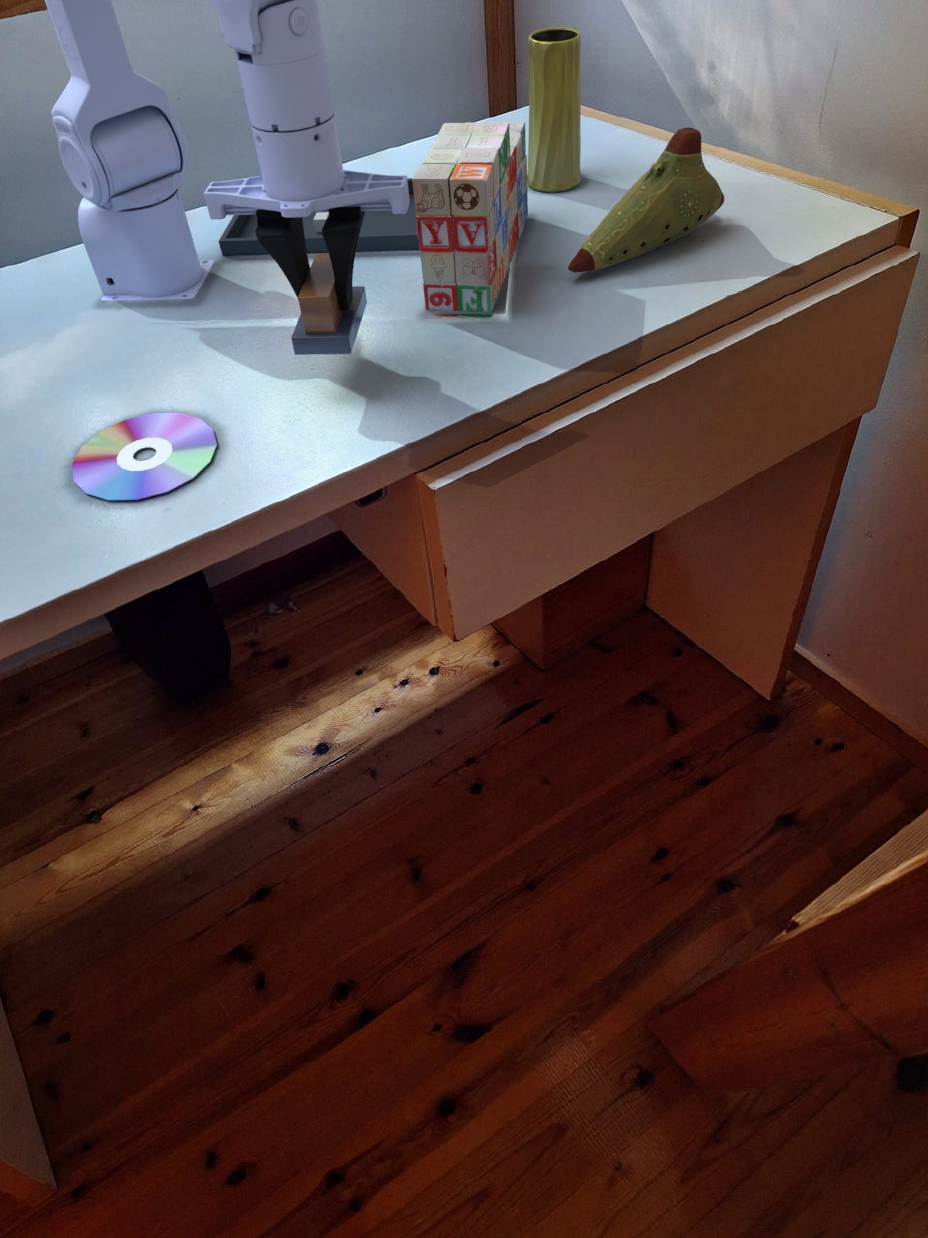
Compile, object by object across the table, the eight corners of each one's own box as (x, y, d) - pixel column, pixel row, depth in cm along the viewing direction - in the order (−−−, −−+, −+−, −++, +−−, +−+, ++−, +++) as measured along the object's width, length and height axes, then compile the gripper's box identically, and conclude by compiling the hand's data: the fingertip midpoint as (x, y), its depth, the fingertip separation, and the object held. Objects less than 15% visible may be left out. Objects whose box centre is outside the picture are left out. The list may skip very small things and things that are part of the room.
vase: (518, 176, 102) (515, 31, 92) (569, 166, 103) (571, 21, 93) (537, 196, 98) (536, 47, 88) (590, 186, 99) (595, 37, 89)
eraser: (351, 354, 70) (341, 299, 66) (294, 355, 70) (282, 300, 67) (367, 302, 75) (359, 249, 72) (314, 303, 75) (304, 251, 72)
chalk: (315, 232, 94) (313, 219, 93) (324, 212, 98) (322, 199, 97) (328, 232, 94) (326, 218, 93) (337, 211, 98) (334, 198, 97)
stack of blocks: (470, 215, 96) (463, 86, 87) (529, 216, 95) (527, 86, 86) (425, 316, 82) (410, 175, 73) (492, 318, 81) (486, 176, 72)
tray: (223, 261, 93) (218, 240, 91) (256, 202, 102) (251, 183, 101) (427, 255, 90) (425, 234, 89) (441, 196, 100) (439, 176, 99)
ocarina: (586, 293, 83) (590, 181, 76) (549, 273, 86) (549, 163, 79) (739, 226, 90) (756, 117, 83) (700, 210, 93) (713, 104, 86)
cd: (193, 397, 75) (193, 397, 75) (235, 467, 68) (235, 466, 68) (58, 442, 72) (58, 441, 72) (88, 520, 65) (88, 519, 65)
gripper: (171, 143, 59) (225, 332, 69) (389, 134, 58) (412, 329, 68) (201, 105, 64) (247, 287, 74) (403, 96, 62) (422, 283, 72)
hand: (327, 304), depth 71 cm, fingers closed on eraser, 2 cm apart
